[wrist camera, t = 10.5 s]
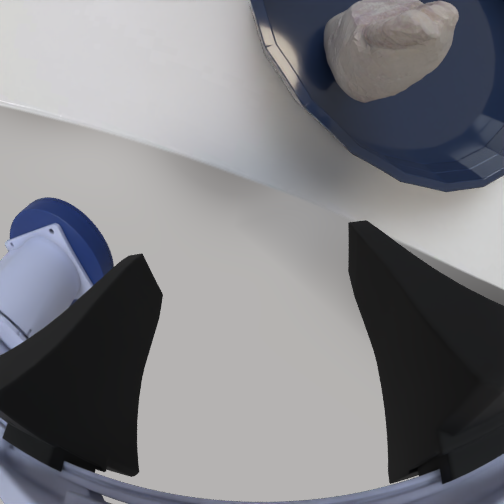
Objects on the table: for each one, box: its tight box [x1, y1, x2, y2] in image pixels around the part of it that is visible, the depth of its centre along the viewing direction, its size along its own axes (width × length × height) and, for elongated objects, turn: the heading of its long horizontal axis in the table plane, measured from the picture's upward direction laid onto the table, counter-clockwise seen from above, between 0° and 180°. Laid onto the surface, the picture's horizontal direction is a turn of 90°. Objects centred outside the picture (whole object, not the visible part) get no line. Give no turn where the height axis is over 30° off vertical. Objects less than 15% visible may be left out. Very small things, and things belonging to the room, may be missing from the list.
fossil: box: [324, 0, 459, 103], centre depth 9 cm, size 6×4×10 cm, turn 155°
